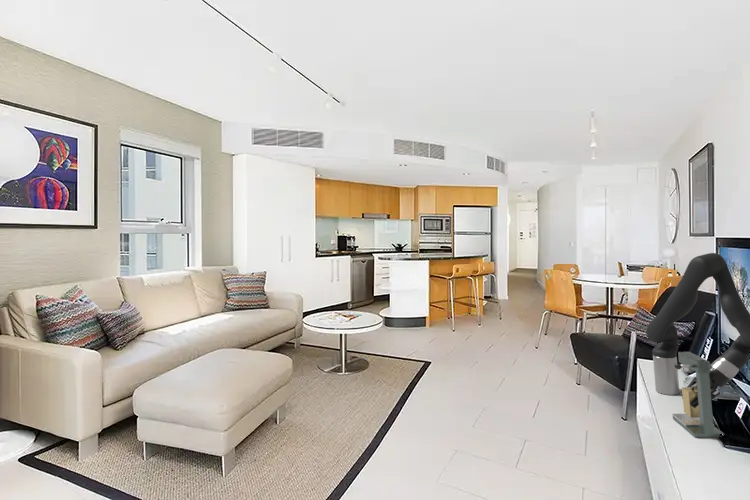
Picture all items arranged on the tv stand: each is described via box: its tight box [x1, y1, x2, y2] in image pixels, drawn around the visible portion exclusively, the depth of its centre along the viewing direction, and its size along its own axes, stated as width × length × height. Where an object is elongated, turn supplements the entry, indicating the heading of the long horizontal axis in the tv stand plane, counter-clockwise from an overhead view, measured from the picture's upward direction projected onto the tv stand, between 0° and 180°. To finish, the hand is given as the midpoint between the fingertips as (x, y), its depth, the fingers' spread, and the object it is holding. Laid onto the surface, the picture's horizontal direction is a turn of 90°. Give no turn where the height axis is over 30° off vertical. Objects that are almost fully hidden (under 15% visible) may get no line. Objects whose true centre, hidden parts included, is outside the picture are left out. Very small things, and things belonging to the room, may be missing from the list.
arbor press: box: [672, 351, 725, 439], centre depth 158 cm, size 16×13×28 cm
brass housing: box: [681, 386, 700, 418], centre depth 161 cm, size 5×5×11 cm
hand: (688, 403), depth 161 cm, fingers closed on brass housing, 5 cm apart
